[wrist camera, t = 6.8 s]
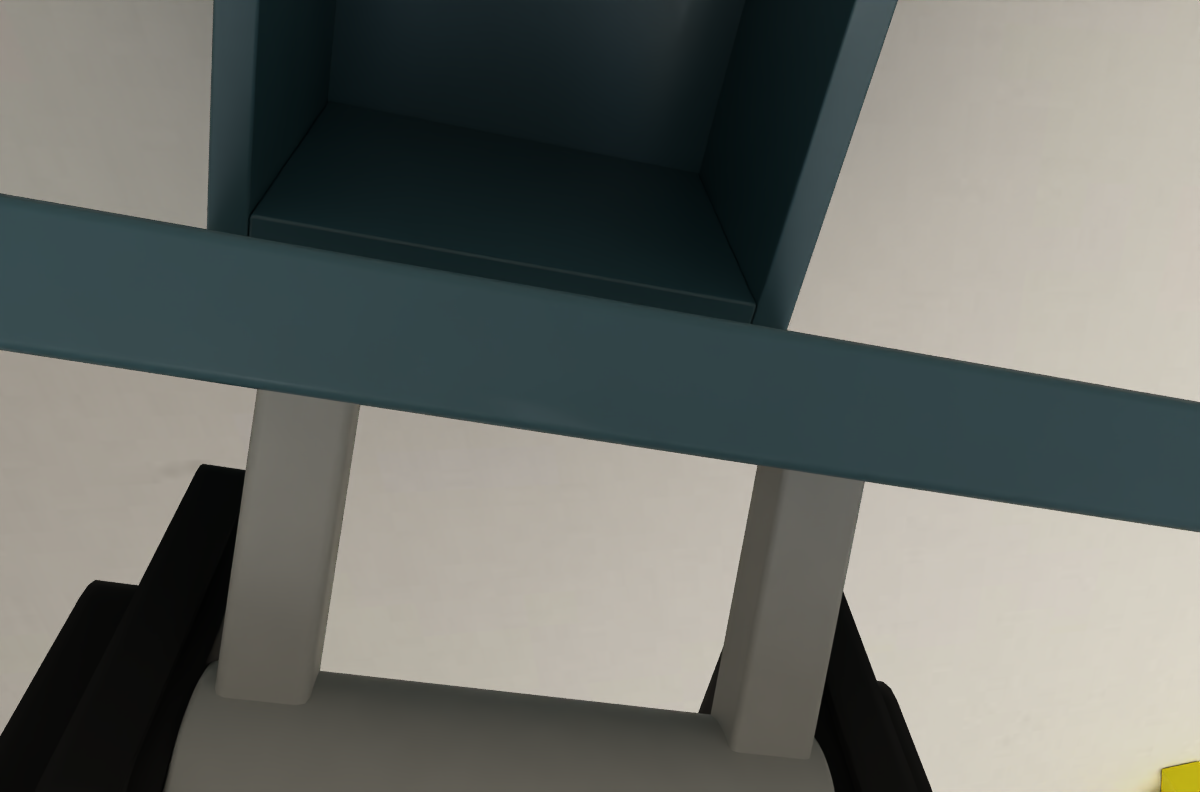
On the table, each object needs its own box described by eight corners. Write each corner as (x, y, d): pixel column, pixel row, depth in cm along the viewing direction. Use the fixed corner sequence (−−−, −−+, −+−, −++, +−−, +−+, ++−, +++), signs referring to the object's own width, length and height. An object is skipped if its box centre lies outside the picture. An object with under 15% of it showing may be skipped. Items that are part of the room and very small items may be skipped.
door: (-611, 87, 5) (-677, 1131, 5) (1553, 463, 7) (1360, 1208, 7) (202, 232, 20) (166, 497, 20) (790, 334, 22) (745, 575, 22)
